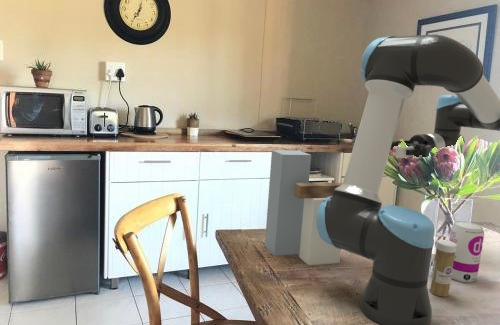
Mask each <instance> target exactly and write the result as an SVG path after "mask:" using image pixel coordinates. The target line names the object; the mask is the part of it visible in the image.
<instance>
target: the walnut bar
mask: <svg viewBox="0 0 500 325" xmlns="http://www.w3.org/2000/svg"><path fill="white" fill-rule="evenodd" d="M342 184H343V182H309V183H295V189H294V196H296V197H297V198H299V199H305V198H327V197H330V196H333V193H334V190H335V189H336V188H337V187H339V186H341V185H342Z"/></svg>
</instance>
